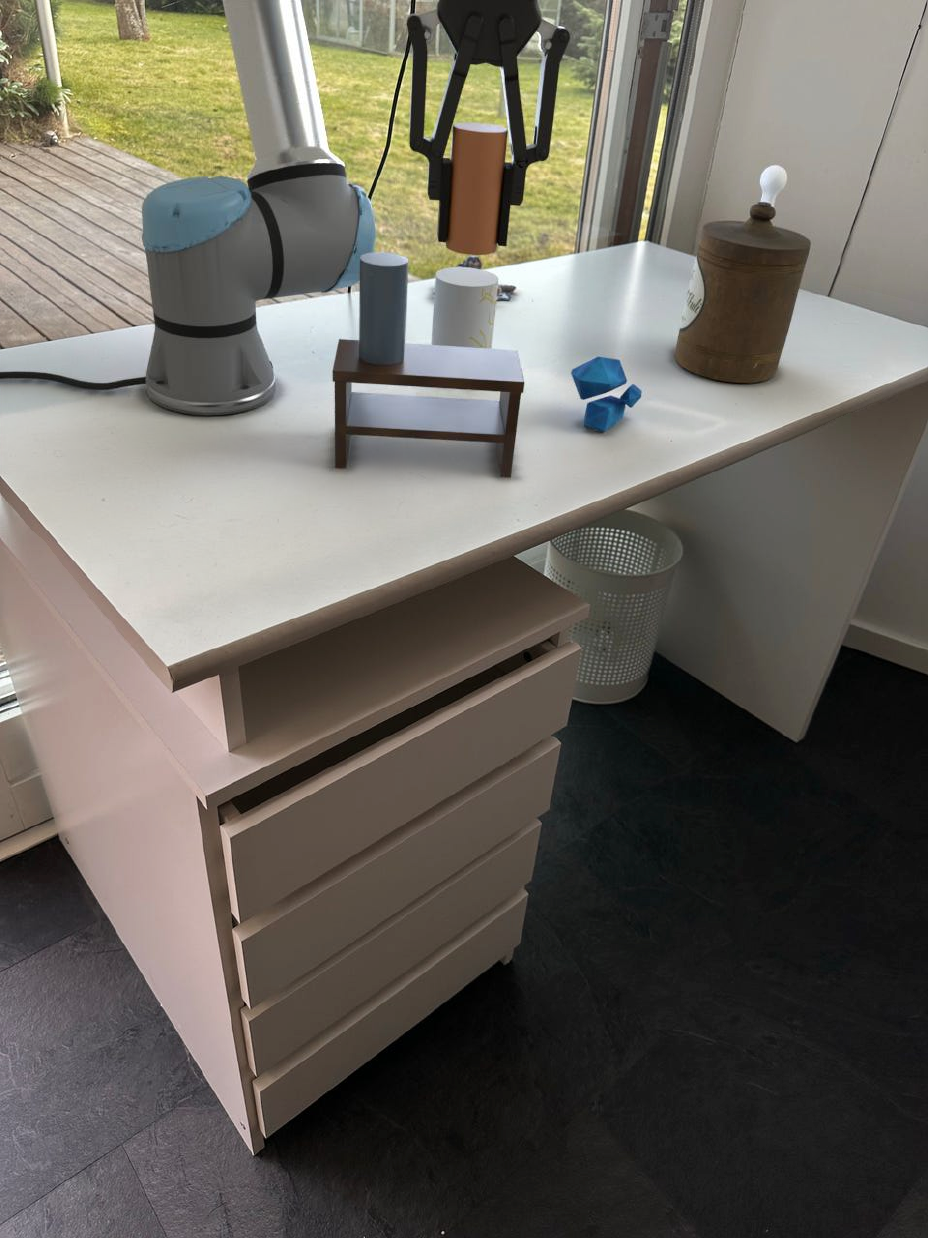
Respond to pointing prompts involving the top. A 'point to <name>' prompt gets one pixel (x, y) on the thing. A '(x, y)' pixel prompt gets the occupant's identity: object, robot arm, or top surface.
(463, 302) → the cup
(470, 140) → the copper tin
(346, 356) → the desk shelf
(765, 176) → the white light bulb
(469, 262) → the stuffed animal
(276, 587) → the top surface
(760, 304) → the wooden container
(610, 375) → the crystal
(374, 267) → the slate tin
